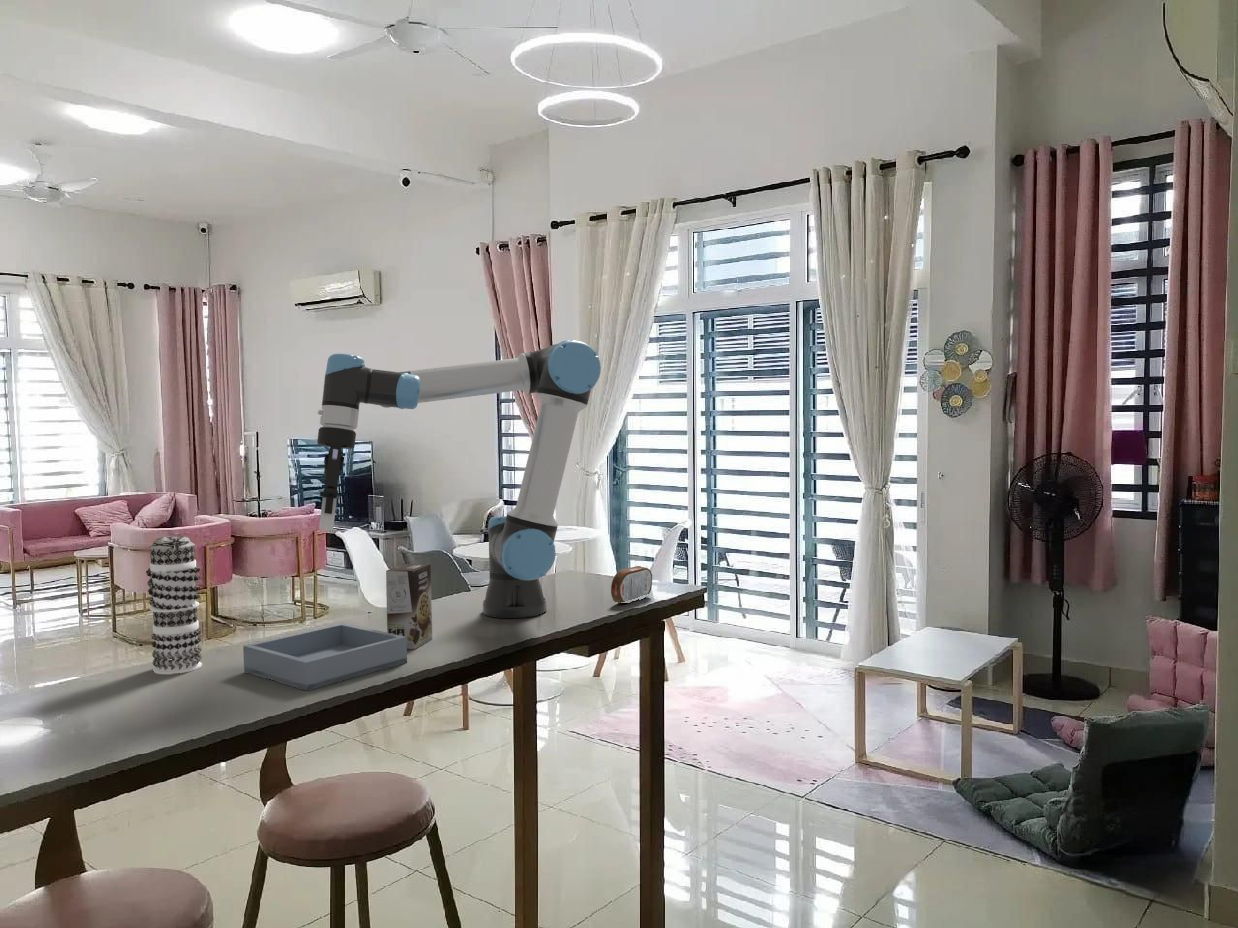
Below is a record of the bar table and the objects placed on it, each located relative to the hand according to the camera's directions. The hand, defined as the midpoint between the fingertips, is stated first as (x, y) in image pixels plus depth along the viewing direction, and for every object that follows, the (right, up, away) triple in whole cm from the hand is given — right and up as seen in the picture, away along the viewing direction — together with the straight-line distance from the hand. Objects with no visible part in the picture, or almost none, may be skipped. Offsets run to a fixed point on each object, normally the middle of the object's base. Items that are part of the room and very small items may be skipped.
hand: (325, 530), depth 194 cm
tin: (+64, -21, +40) cm, 78 cm away
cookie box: (+17, -24, +1) cm, 30 cm away
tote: (+5, -25, -16) cm, 30 cm away
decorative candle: (-23, -25, -15) cm, 38 cm away
